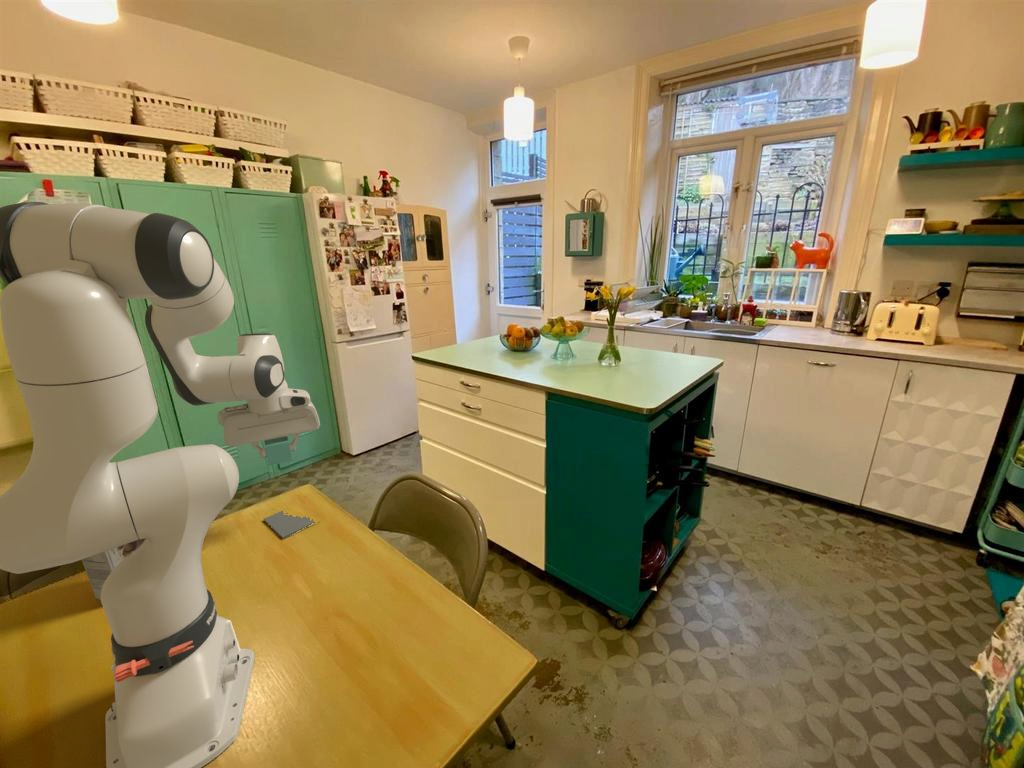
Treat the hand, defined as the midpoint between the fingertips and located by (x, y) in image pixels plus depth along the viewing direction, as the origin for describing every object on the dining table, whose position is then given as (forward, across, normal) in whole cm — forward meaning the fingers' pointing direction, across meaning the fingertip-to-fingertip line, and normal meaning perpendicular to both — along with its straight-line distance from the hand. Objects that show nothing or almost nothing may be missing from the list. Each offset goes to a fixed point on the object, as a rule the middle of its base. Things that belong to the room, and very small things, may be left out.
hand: (278, 453), depth 103 cm
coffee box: (+20, -31, -6) cm, 37 cm away
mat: (+19, 0, 0) cm, 19 cm away
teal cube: (+2, 0, 0) cm, 2 cm away
